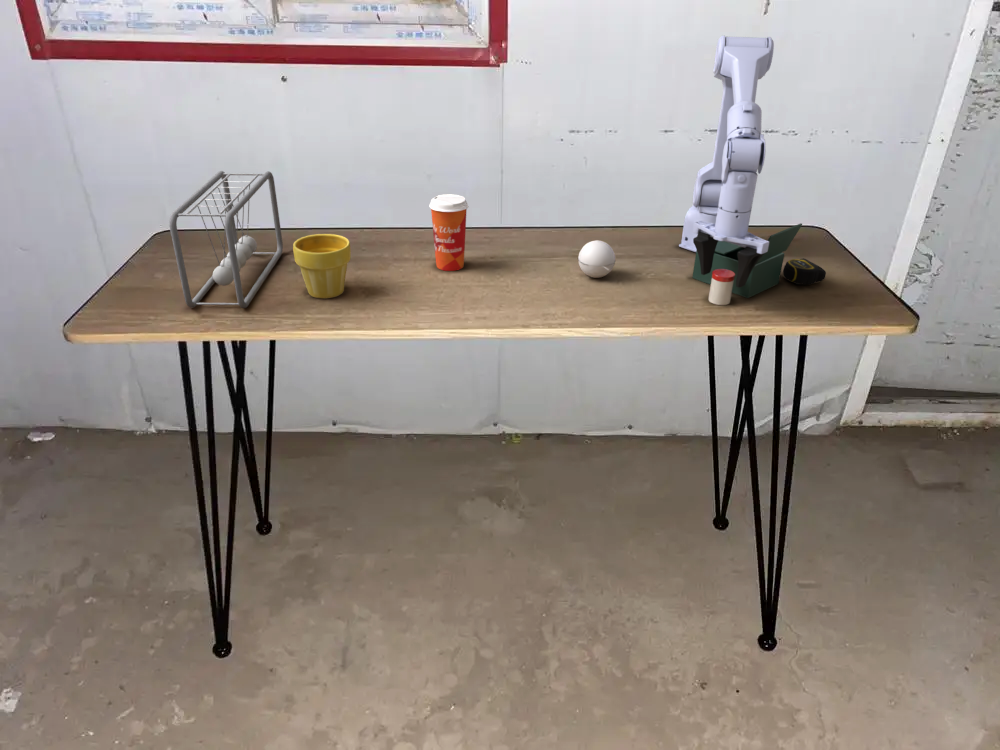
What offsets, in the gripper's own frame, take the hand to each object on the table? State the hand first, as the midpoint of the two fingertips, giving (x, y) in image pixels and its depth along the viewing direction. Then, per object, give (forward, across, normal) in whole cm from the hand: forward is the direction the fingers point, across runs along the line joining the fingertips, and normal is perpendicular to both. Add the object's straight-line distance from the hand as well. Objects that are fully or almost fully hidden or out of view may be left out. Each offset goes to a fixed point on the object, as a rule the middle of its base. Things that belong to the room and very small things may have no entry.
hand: (722, 279), depth 143 cm
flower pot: (+5, -51, -54) cm, 74 cm away
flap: (-6, +4, +11) cm, 13 cm away
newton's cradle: (+4, -67, -64) cm, 93 cm away
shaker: (+4, 0, 0) cm, 4 cm away
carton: (+4, -4, +11) cm, 12 cm away
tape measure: (+4, +5, +21) cm, 22 cm away
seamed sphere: (+4, -22, -10) cm, 25 cm away
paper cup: (+4, -46, -28) cm, 54 cm away
